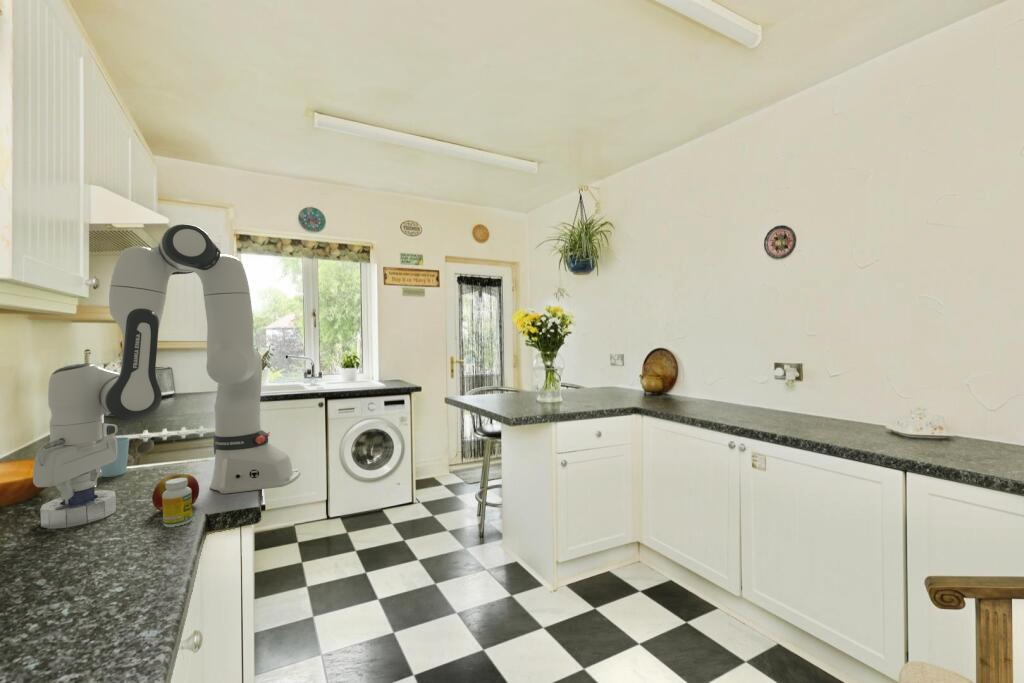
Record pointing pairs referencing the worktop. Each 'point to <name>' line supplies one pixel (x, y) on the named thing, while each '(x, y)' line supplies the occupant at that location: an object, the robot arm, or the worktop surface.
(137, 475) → the worktop surface
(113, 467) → the cup
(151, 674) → the worktop surface
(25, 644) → the worktop surface
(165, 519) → the supplement bottle
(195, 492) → the fruit
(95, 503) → the disc
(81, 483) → the pill bottle
